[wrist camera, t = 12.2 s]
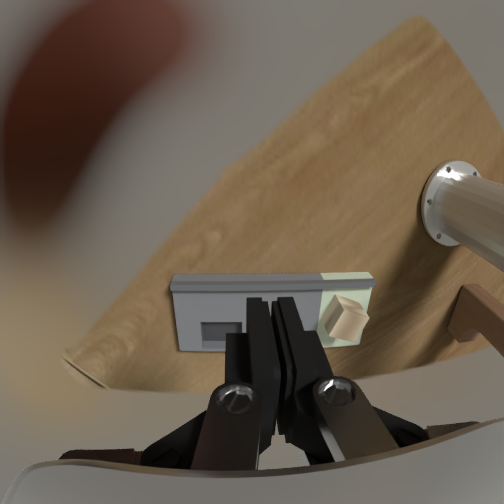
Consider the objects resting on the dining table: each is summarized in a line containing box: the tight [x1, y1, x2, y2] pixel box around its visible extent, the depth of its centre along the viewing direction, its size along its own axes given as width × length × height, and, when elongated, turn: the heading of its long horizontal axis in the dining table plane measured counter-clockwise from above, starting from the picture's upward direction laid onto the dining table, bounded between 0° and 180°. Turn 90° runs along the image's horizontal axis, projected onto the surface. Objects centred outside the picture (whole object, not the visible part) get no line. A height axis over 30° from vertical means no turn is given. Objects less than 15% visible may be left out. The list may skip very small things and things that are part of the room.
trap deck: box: [170, 272, 376, 351], centre depth 41 cm, size 26×11×3 cm, turn 89°
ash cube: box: [321, 294, 369, 343], centre depth 39 cm, size 4×4×4 cm
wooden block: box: [447, 285, 504, 357], centre depth 37 cm, size 9×4×18 cm, turn 177°
